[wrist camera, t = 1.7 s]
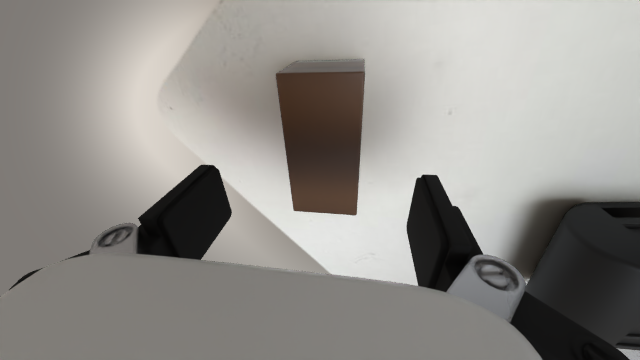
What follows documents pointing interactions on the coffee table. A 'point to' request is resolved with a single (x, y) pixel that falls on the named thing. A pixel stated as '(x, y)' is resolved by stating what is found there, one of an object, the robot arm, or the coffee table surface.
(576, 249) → the end cap
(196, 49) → the coffee table surface
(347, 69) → the eraser
